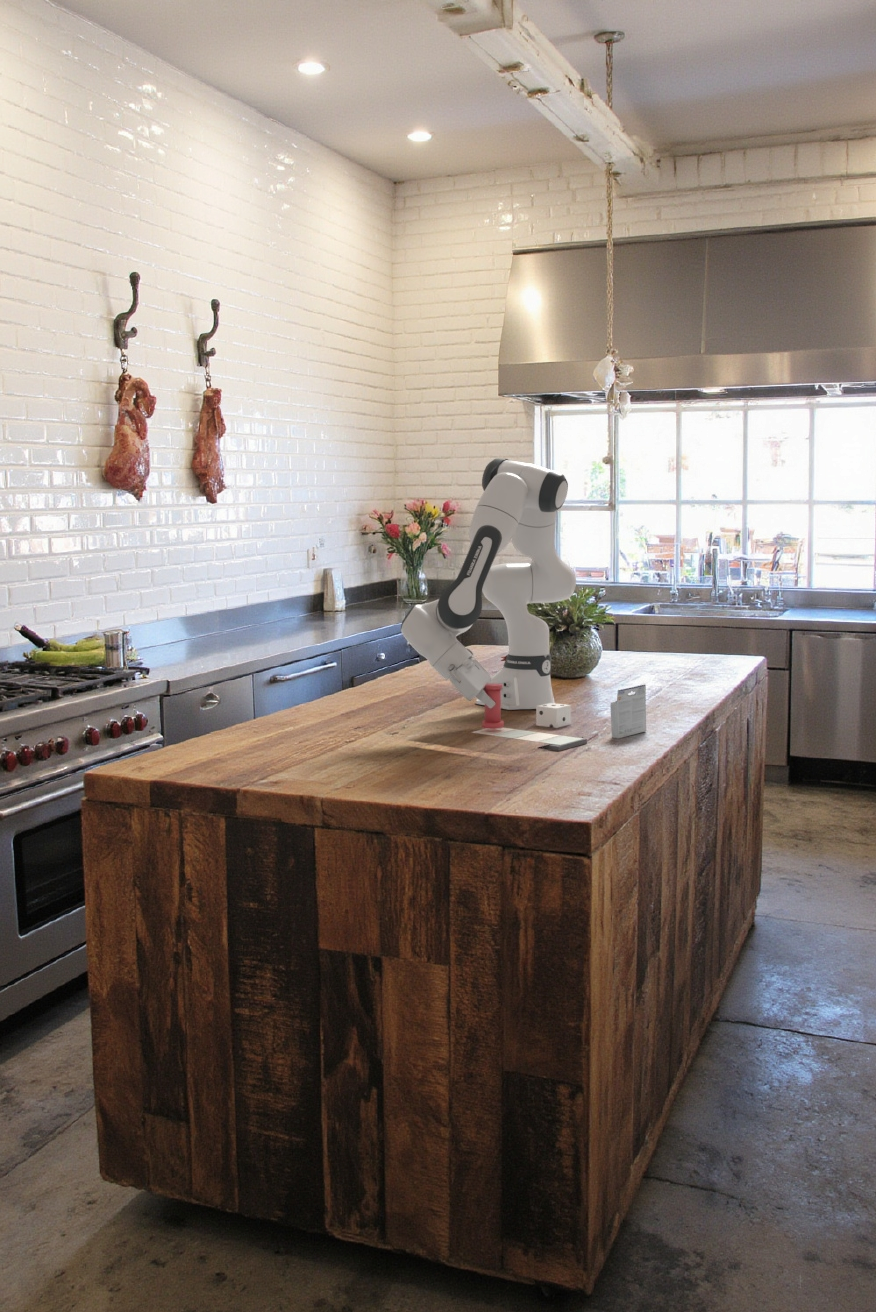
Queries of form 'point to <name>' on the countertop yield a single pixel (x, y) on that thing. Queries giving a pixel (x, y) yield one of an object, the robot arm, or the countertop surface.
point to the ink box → (629, 712)
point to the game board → (537, 738)
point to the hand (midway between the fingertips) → (495, 704)
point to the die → (553, 715)
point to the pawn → (493, 713)
